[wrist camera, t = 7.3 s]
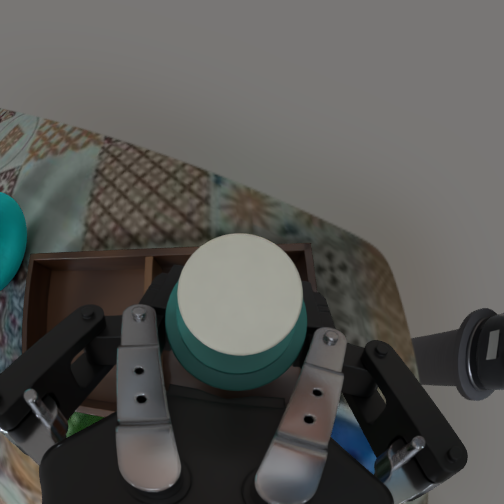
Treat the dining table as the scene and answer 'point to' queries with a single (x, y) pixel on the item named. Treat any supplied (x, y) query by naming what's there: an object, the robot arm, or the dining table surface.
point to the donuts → (11, 238)
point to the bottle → (237, 313)
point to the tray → (118, 299)
